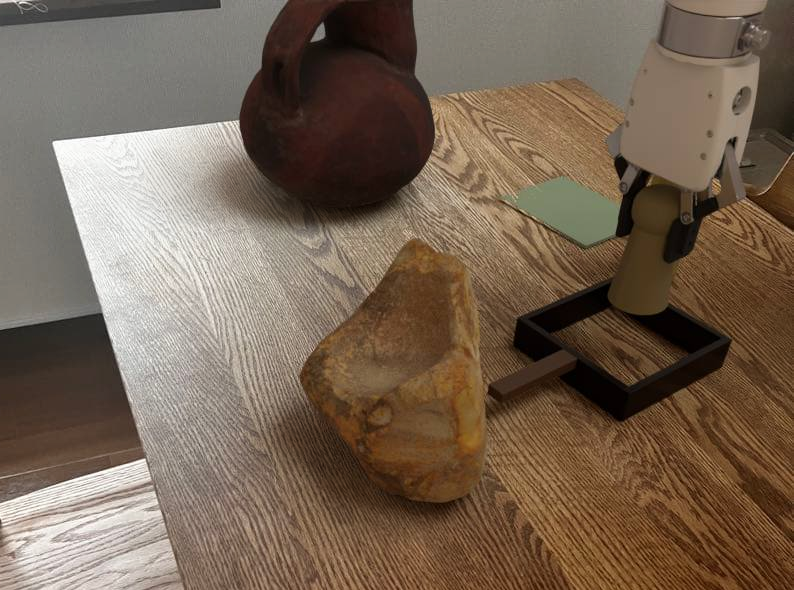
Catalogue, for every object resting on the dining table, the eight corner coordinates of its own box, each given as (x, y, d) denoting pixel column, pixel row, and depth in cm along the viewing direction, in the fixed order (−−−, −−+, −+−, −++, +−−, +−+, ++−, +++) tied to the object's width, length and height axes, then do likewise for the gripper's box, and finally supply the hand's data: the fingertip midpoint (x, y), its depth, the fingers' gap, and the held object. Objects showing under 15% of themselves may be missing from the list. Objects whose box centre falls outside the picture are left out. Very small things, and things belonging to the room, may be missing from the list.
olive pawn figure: (654, 279, 85) (683, 173, 76) (678, 312, 81) (711, 203, 72) (598, 285, 84) (621, 178, 76) (620, 317, 80) (646, 208, 72)
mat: (562, 178, 116) (563, 175, 116) (649, 223, 108) (650, 220, 107) (499, 200, 111) (500, 196, 111) (585, 249, 103) (586, 245, 102)
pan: (611, 301, 95) (618, 273, 92) (721, 367, 86) (732, 339, 84) (440, 378, 84) (442, 349, 81) (547, 462, 76) (553, 433, 73)
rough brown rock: (314, 362, 86) (293, 230, 75) (472, 354, 86) (475, 219, 74) (300, 528, 71) (271, 394, 60) (492, 520, 71) (499, 383, 59)
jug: (210, 182, 112) (180, -35, 94) (350, 135, 124) (348, -65, 106) (326, 253, 100) (318, 20, 82) (468, 194, 112) (489, -22, 94)
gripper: (831, 50, 61) (751, 271, 75) (655, -5, 71) (611, 201, 84) (770, 71, 58) (698, 297, 72) (594, 11, 68) (559, 221, 81)
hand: (652, 243), depth 78 cm, fingers closed on olive pawn figure, 5 cm apart
